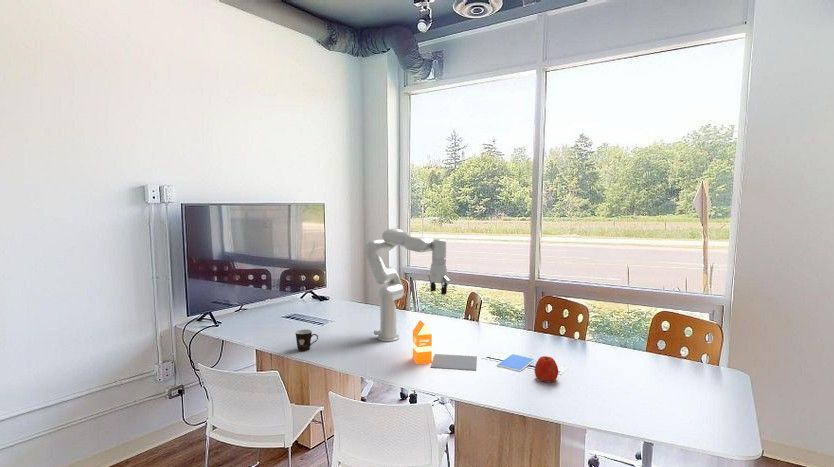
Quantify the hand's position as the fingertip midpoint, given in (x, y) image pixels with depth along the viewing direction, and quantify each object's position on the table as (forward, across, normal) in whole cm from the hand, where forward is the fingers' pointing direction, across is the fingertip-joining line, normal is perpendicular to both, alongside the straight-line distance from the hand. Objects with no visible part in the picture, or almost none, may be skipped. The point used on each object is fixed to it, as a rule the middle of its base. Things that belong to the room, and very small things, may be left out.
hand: (438, 292), depth 223 cm
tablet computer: (+31, +39, +20) cm, 54 cm away
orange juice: (+32, +10, -17) cm, 37 cm away
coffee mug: (+32, -39, -61) cm, 79 cm away
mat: (+31, +21, -5) cm, 38 cm away
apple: (+31, +60, +16) cm, 69 cm away
